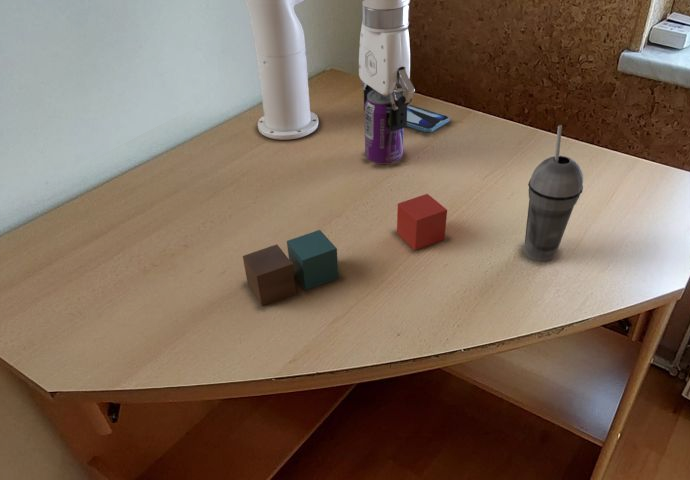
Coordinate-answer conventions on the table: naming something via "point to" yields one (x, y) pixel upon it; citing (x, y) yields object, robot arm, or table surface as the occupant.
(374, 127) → the beverage can
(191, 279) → the table surface
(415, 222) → the block
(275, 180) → the table surface
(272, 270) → the block
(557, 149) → the beverage cup
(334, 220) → the table surface
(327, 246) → the block
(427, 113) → the smartphone
